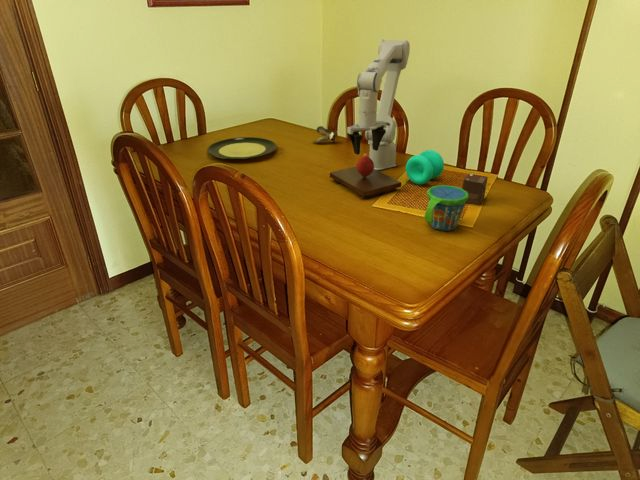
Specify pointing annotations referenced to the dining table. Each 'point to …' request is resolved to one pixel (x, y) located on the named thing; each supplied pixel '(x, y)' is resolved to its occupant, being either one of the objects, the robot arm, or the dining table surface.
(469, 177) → the box
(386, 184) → the platform
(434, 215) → the snack cup
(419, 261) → the dining table surface
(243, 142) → the plate
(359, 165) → the onion
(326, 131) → the eagle figurine
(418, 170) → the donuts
